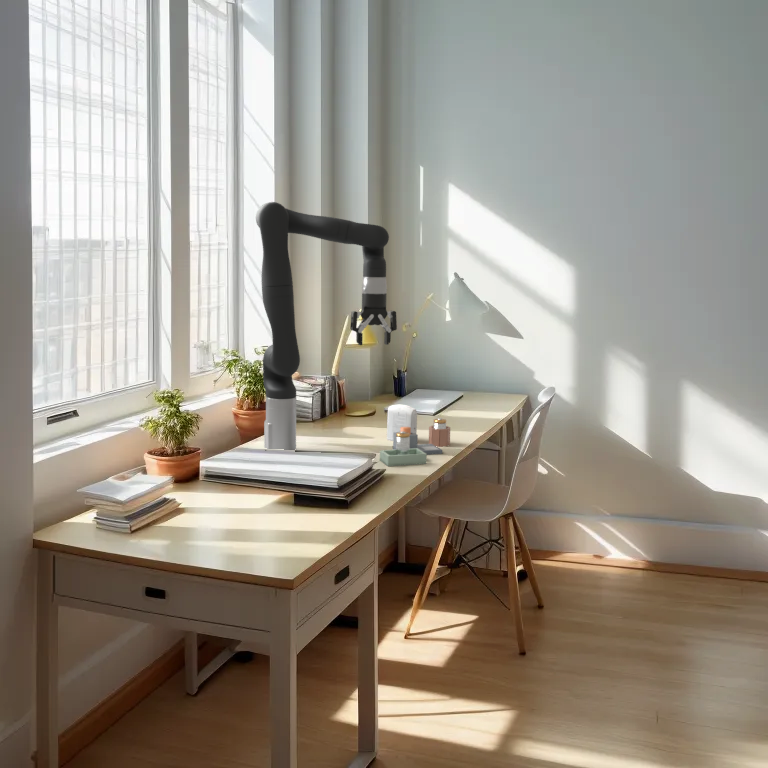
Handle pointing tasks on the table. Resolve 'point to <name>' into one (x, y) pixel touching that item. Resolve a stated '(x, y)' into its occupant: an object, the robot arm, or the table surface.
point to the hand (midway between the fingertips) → (373, 344)
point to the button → (406, 429)
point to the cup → (439, 436)
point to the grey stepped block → (419, 445)
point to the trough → (403, 457)
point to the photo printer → (400, 419)
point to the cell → (402, 443)
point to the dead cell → (439, 423)
